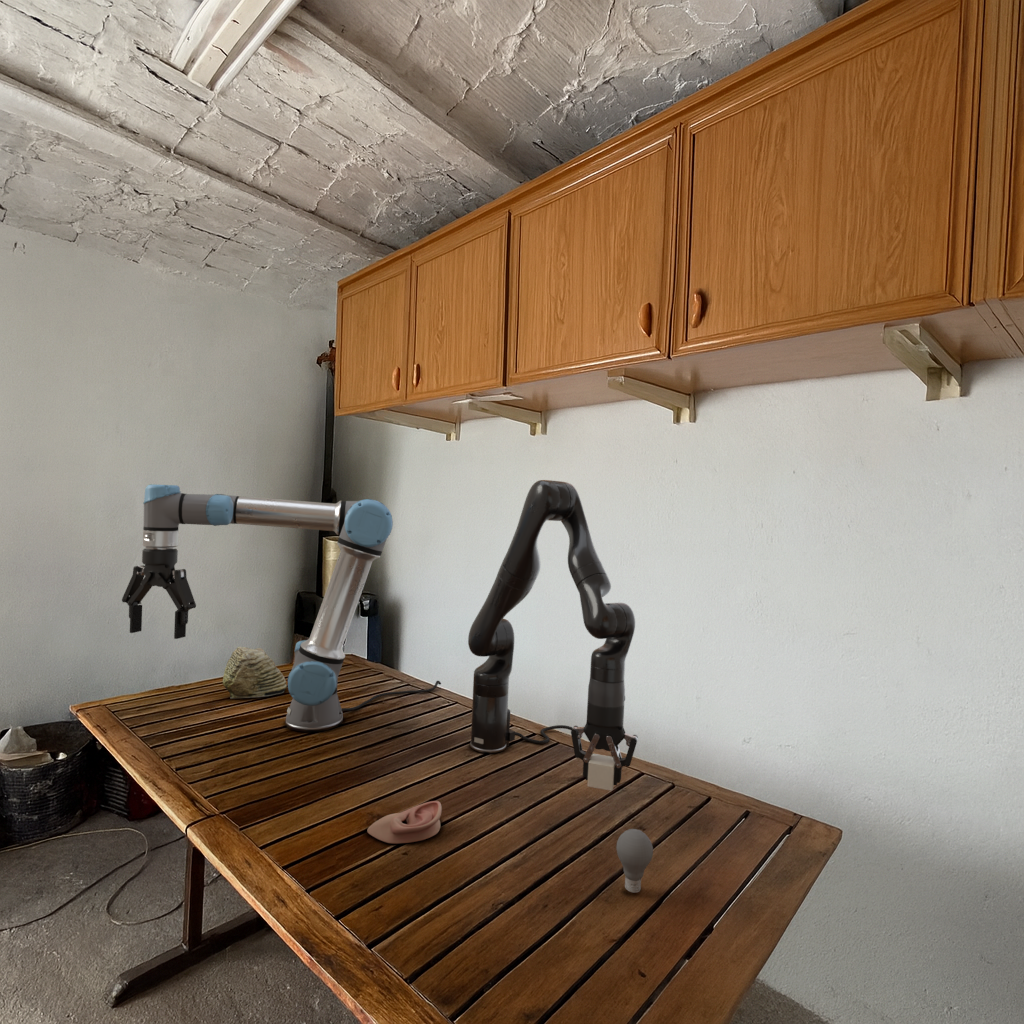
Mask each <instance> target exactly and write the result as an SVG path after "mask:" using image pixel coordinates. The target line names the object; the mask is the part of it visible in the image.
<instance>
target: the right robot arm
mask: <svg viewBox="0 0 1024 1024" xmlns="http://www.w3.org/2000/svg"><path fill="white" fill-rule="evenodd" d="M547 521H550V522H551V521H553V522H560V523H561V524H562V525H563V527H564V528H565V531H566V532H567V535H568V540H569V541H568V543H569V544H568V551H567V566H568V570H569V573H570V576H571V578H572V580H573V583H574V585H575V587H576V589H577V591H578V593H579V599H580V600H579V601H580V607H581V615H582V620H583V624H584V627H585V629H586V631H587V632H588V633H589V634H590V635H591V636H592V637H593V638H595V639H597V640H604V643H603V644H602V645H601V646H599V647H597V648H595V649H593V650H592V652H591V655H590V667H589V668H590V670H589V680H588V686H587V704H586V705H587V706H586V723H585V725H584V726H578V725H573V727H572V726H570V725H562V724H560V725H559V724H558V725H551V726H546V727H544V728H542V729H541V730H540V731H539V733H540V734H541V736H542V737H543V738H544V739H543V740H542V739H540V740H537V739H534V738H533V739H532V738H530V737H526V736H525V735H524V734H522V733H520V732H516V731H515V730H513V729H511V710H510V709H509V687H510V675H511V673H512V669H513V662H514V652H515V651H514V650H515V632H514V627H513V625H512V623H511V622H510V621H509V619H506V618H505V617H506V616H507V615H508V614H509V613H510V612H511V611H512V610H513V609H514V608H515V607H517V606H518V605H519V604H520V603H521V602H523V600H524V599H525V598H526V597H527V596H528V595H529V594H530V592H531V590H532V589H533V587H534V584H535V582H536V580H537V578H538V576H539V574H540V572H541V571H540V570H541V557H540V551H539V547H538V539H539V536H540V534H541V530H542V528H543V527H544V525H545V524H546V522H547ZM611 590H612V583H611V580H610V578H609V576H608V574H607V572H606V570H605V567H604V566H603V564H602V561H601V560H600V558H599V555H598V553H597V550H596V548H595V546H594V542H593V538H592V535H591V532H590V529H589V525H588V521H587V517H586V514H585V511H584V507H583V504H582V500H581V498H580V495H579V492H578V491H577V489H576V487H575V486H574V485H573V484H571V483H569V482H567V481H562V480H561V481H559V480H552V479H551V480H549V479H538V480H536V481H535V482H534V483H533V484H532V485H531V486H530V488H529V490H528V492H527V495H526V498H525V500H524V503H523V507H522V509H521V514H520V517H519V519H518V522H517V526H516V529H515V532H514V534H513V536H512V539H511V541H510V544H509V546H508V549H507V552H506V553H505V555H504V557H503V560H502V562H501V565H500V566H499V569H498V571H497V573H496V577H495V579H494V582H493V584H492V585H491V589H490V590H489V593H488V595H487V597H486V599H485V601H484V603H483V605H482V606H481V608H480V610H479V611H478V613H477V615H476V617H475V619H474V620H473V622H472V624H471V626H470V629H469V632H468V637H467V644H468V649H469V650H470V652H471V653H472V654H473V655H474V656H476V657H485V658H487V659H486V661H484V662H483V663H482V664H480V665H479V666H477V667H476V668H475V669H474V671H473V682H472V705H471V707H472V708H471V726H470V727H471V729H470V731H471V732H470V743H469V746H470V748H471V749H472V750H473V751H476V752H479V753H483V754H496V753H501V752H503V751H505V750H506V749H507V747H510V742H513V741H515V740H516V736H517V737H519V738H520V739H522V740H523V741H524V742H525V741H526V742H528V743H531V744H536V745H544V744H548V743H549V742H550V737H549V736H548V735H547V734H546V733H545V732H547V731H551V730H556V729H557V730H558V729H565V730H570V735H571V741H572V746H573V747H572V748H573V753H574V757H575V758H576V759H580V760H581V761H582V776H583V777H584V778H585V781H588V765H589V761H590V759H591V756H592V754H594V753H593V752H595V751H594V750H603V751H605V752H610V756H611V757H612V758H613V760H614V763H615V767H614V783H613V785H614V786H618V784H620V783H621V781H622V775H623V774H622V771H623V770H622V769H623V767H630V766H631V764H632V760H633V757H634V753H635V750H636V746H637V742H638V741H639V740H638V739H639V736H638V735H637V734H633V735H631V734H629V733H627V732H626V731H625V728H624V719H625V717H624V716H625V701H626V685H625V672H626V660H627V656H628V653H629V651H630V647H631V644H632V642H633V641H632V640H633V637H634V634H635V629H636V618H635V613H634V611H633V609H632V607H631V606H630V605H628V604H627V603H625V602H609V603H608V602H607V603H605V601H604V600H603V597H606V596H607V595H608V594H609V593H610V591H611ZM583 734H584V735H585V736H586V738H587V740H588V742H589V745H588V747H587V750H586V751H584V750H583V745H582V744H583V743H582V737H583ZM623 740H625V745H626V746H627V747H628V749H627V752H626V756H624V757H622V754H621V750H620V746H619V745H620V744H621V743H622V741H623Z"/></svg>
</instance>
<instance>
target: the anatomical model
mask: <svg viewBox="0 0 1024 1024" xmlns="http://www.w3.org/2000/svg"><path fill="white" fill-rule="evenodd" d="M442 812H443V807H442V804H441V802H440V801H438V800H431V801H426V802H424V803H421V804H418V805H415V806H412V807H410V808H408V809H405V810H403V811H401V812H397V813H391V814H387V815H385V816H383V817H381V818H379V819H377V820H376V821H374V822H373V823H372V824H371V825H369V826H368V828H367V831H366V832H367V833H368V834H369V835H370V836H372V837H373V838H375V839H377V840H379V841H381V842H384V843H387V844H394V845H395V844H408V843H414V842H420V841H424V840H426V839H429V838H432V837H434V836H436V835H437V834H438V833H439V831H440V829H441V820H440V819H441V816H442Z"/></svg>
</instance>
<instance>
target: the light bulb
mask: <svg viewBox="0 0 1024 1024" xmlns="http://www.w3.org/2000/svg"><path fill="white" fill-rule="evenodd" d="M615 849H616V854H617V857H618V859H619V861H620V863H621V865H622V867H623V873H624V874H623V875H624V876H625V878H624V888H625V890H627V891H628V892H630V893H634V894H635V893H639V892H640V891H641V889H642V887H641V886H642V879H643V877H644V875H645V871H646V868H647V867H648V866H649V864H650V863H651V861H652V859H653V855H654V847H653V843H652V841H651V838H649V836H648V835H647V834H646V833H645V832H643V831H642V830H641V829H636V828H629V829H627V830H625V831H623V832H622V833H621V834H620V835H619V837H618V839H617V841H616V847H615Z"/></svg>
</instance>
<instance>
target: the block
mask: <svg viewBox="0 0 1024 1024" xmlns="http://www.w3.org/2000/svg"><path fill="white" fill-rule="evenodd" d="M614 767H615V763H614V760H613V758H612V755H605V754H599V753H592V755H591V757H590V761H589V765H588V780H587V787H588V788H594V789H599V790H605V791H611V792H612V791H613V790H614V786H615V785H613V783H614Z"/></svg>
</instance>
